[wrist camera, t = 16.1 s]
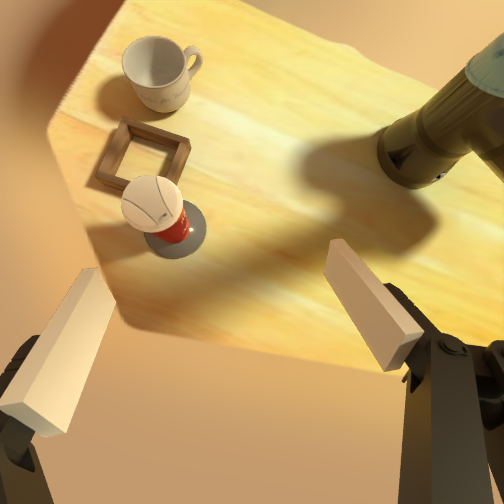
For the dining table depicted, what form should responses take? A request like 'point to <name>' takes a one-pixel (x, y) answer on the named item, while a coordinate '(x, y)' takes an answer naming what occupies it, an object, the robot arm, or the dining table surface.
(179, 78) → the teacup
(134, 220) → the paper cup
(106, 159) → the collar
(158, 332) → the dining table surface
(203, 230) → the grey smooth round part
